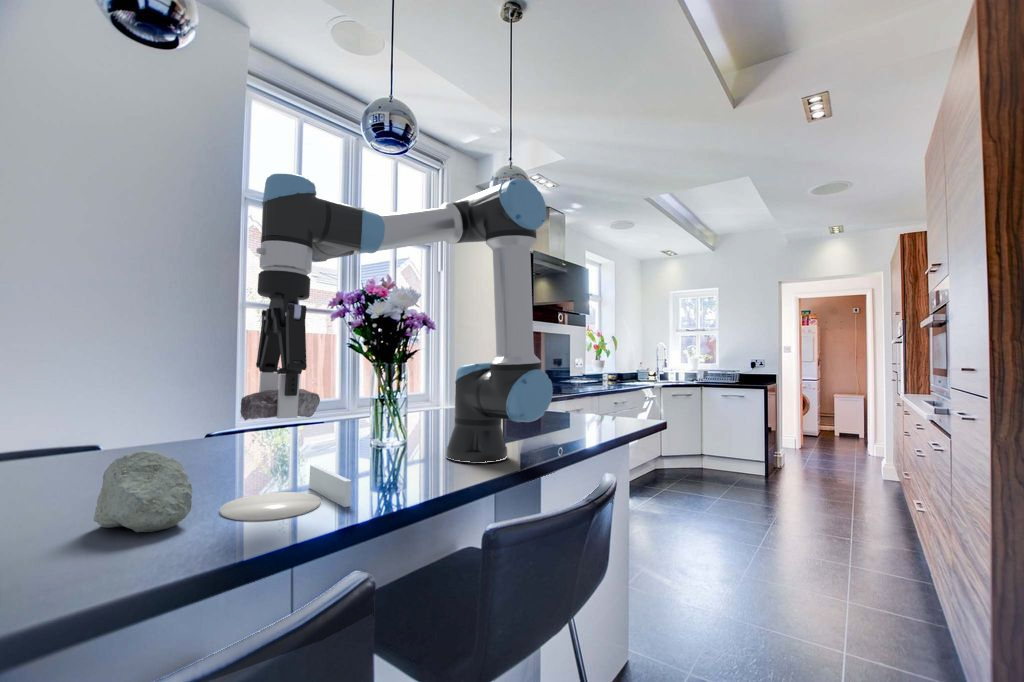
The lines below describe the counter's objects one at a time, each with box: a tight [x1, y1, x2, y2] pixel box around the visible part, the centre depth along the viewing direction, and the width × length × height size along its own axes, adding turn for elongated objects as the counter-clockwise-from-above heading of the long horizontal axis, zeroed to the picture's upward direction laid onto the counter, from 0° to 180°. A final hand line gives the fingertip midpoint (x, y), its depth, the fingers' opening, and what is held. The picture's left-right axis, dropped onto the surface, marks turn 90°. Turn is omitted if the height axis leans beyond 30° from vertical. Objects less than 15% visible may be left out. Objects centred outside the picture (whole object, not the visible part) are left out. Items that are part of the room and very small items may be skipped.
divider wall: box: [308, 464, 352, 508], centre depth 81 cm, size 1×15×4 cm, turn 43°
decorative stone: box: [93, 449, 193, 533], centre depth 65 cm, size 13×11×10 cm
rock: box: [239, 388, 321, 421], centre depth 75 cm, size 8×11×5 cm
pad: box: [219, 491, 322, 522], centre depth 75 cm, size 14×14×1 cm
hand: (276, 414), depth 76 cm, fingers closed on rock, 9 cm apart
